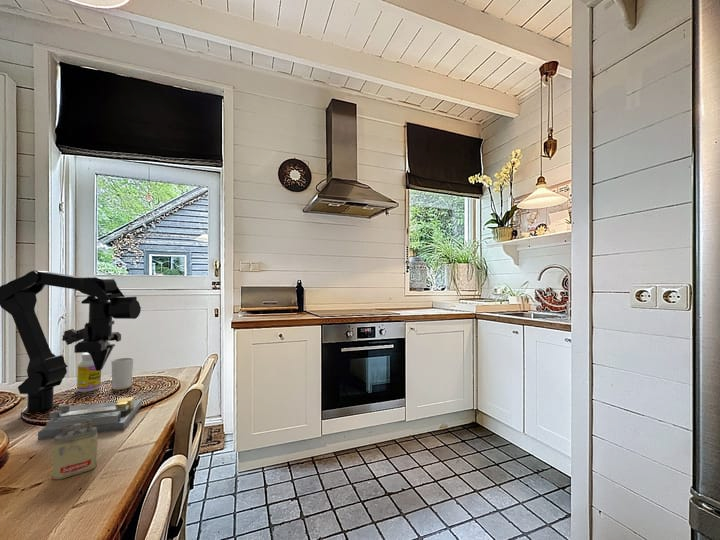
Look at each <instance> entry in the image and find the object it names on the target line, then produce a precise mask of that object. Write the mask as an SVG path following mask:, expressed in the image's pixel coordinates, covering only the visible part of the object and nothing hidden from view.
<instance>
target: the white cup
mask: <svg viewBox="0 0 720 540" xmlns="http://www.w3.org/2000/svg"><path fill="white" fill-rule="evenodd" d="M134 359H135V358H134V357H130V356H128V357H127V356H126V357H118V358H113V359H112V360H111V388H112V389H113V390H123V389H128V388H131V387H132V383H133V371H134Z"/></svg>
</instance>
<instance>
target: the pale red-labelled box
mask: <svg viewBox="0 0 720 540" xmlns="http://www.w3.org/2000/svg"><path fill="white" fill-rule="evenodd" d="M83 423H86V424H83ZM70 426H71V427H70ZM92 426H93V422H92V419H89V420H87V421H85V422H81V423H77V424H72V425H65V426H62V430H63V431H62V432H63V433H62V434H59V435H57V436H56V437H55V438H53V439H54V440H53V441H54V443H53V455H52V456H53V457H52V458H53V459H52V461H53V463H52V476H51V478H52V479H53V480H63V479H65V478H69V477H72V476H76V475H79V474H83V473H85V472H89V471H91V470H93V469H95V468H96V467H97V466H98V465H97V464H98V463H97V458H98V457H97V455H98V433H97V428H96V427H92ZM84 427H87V428H84ZM81 428H83V429H81ZM71 430H73V431H71ZM68 431H70V432H68Z"/></svg>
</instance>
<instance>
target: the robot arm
mask: <svg viewBox="0 0 720 540" xmlns="http://www.w3.org/2000/svg"><path fill="white" fill-rule="evenodd" d="M45 286H51V287H56V288H64V289H71V290H76V291H78V292H80V293H81V294H84V295H87V297H86V298H85V299H83V300H82V301H81V304H83V305H84V304H85V305H88V322H85V324H84V328H81V329H78V330H76V329H74V328H70V329H67V330H65V331H64V332H63V335H62V339H61V340H62V341H63V342H65V344H66V345H67V346H69V345H72V344H74V343H76V344H75V345H74V350H73V351H74V353H75V354H78V353H79V354H83V353H89V354H90V355H91V357H92V360H93V363H94V366H95V368H96V371H100V370H101V371H102V370H103V368H104V366H105V365H106V362H107V361H108V358H109V357H110V355H111V354H112V353H111V352H112V351H113V349H114V348H115V346H116V344H115V343H114V344H113V343H111V342H110V341H112V342H114V341H115V342H121V341H122V334H121V333H120V332H119V331H113V325H115V320H113V319H116V320H119V319H120V320H121V319H123V320H130V319H131V320H135V319H137V318H139V316H140V314H141V311H142V310H141V309H142V307H141V305H140V302H139V301H138V300H137V297H138V296H125V295H124V294H123V292H122V290H121V289H120V288H119V287H118V285H117V282H116V280H115V279H114V278H113V277H105V276H103V277H102V276H101V277H83V276H77V275H76V276H75V275H69V274H63V273H57V272H51V271H48V270H31V271H28V272H27V273H26V274H24V275H23V276H21V277H17V278H15V279H13V280H11V281H8V282H7V283H5V284H2V285H0V308H1V309H2V310H4V311H5V312H7V313H8V314H9V315H11V316H12V319H13V321H14V324H15V326H16V329H17V332H18V334H19V336H20V339H21V342H22V344H23V347H24V350H25V352H26V354H27V356H28V358H29V361H28V365H27V368H26V373H27V378H26V379H25V380H24V381H23V382H22V383H21V384H19V385H18V387H17V389H18V392H19V394H20V395H27V399H26V400H27V401H26V403H27V404H26V409H25V410H23V411H22V412H21V413H20V415H21V416H23V415H22V414H24V415H27V414H26V413H34V414H38V413H37V412H45V413H48V412H47V411H49V412H51V411H52V410H53V409H55V408H56V407H57V406H58V405H59V403H56V402H55V403H54V388H55V387H57V386H60V385H61V384H62V382H63V379H64V378H65V377H66V375H67V374H68V373H67V372H68V370H67V368H69V366H68V364H67V363H66V362H65V361H66V360H65V358H64V356H63V355H62V354H61V355H55V353H53V352H52V350H51V348H50V345H49V343H48V340H47V338H46V337H45V336H46V335H45V333H44V331H43V328H42V326H41V324H40V321H39V318H38V316H37V313H36V311H35V307H36V304H37V301H38V299H37V295H38V294H39V293H40V292H42V291H43V290H44V288H45ZM81 340H82V341H81ZM55 406H56V407H55ZM54 407H55V408H54ZM51 409H52V410H51Z"/></svg>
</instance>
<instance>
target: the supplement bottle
mask: <svg viewBox="0 0 720 540" xmlns="http://www.w3.org/2000/svg"><path fill="white" fill-rule="evenodd" d="M81 358H82V359H81V360H80V361H79V362H78V363H77V375H76V377H77V378H76V379H77V380H76V390H77V392H81V393H87V391H88V392H92V391H96V390H98V389H100V388H101V386H102V385H101V384H102V382H101V381H102V379H101V378H102V369H101V370H100V371H96V368H95V366H94V363H93V360H92V357H91V355H90V354H89V353H87V352H83V353H81Z"/></svg>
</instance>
